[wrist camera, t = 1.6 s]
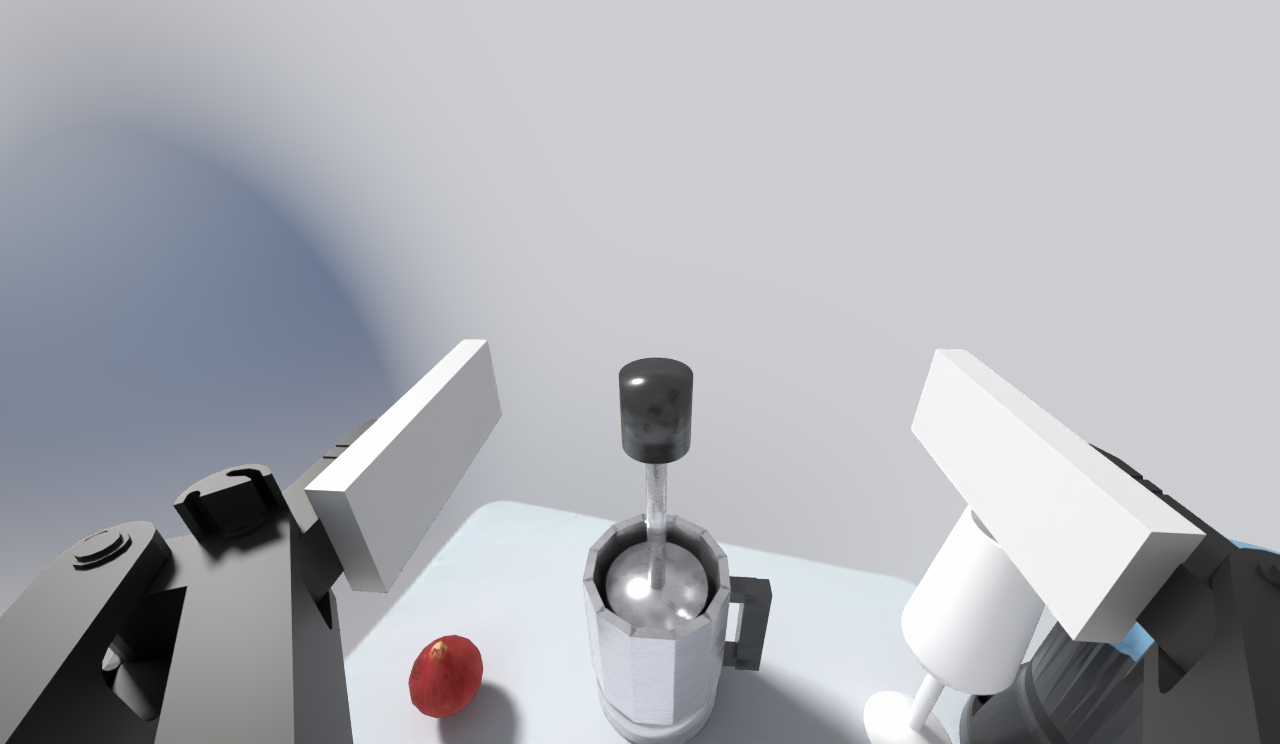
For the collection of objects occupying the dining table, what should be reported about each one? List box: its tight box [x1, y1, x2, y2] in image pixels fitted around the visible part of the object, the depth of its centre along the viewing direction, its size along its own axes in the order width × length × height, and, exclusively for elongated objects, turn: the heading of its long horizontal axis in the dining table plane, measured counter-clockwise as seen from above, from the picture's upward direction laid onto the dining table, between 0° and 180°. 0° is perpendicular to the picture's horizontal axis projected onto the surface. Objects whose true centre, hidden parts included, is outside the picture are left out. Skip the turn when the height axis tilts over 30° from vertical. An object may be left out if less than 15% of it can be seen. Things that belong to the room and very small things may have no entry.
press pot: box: [583, 514, 772, 744], centre depth 38 cm, size 14×11×15 cm
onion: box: [409, 635, 483, 718], centre depth 39 cm, size 6×6×8 cm
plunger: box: [606, 358, 708, 630], centre depth 31 cm, size 8×8×19 cm
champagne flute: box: [864, 505, 1045, 744], centre depth 32 cm, size 7×7×24 cm
